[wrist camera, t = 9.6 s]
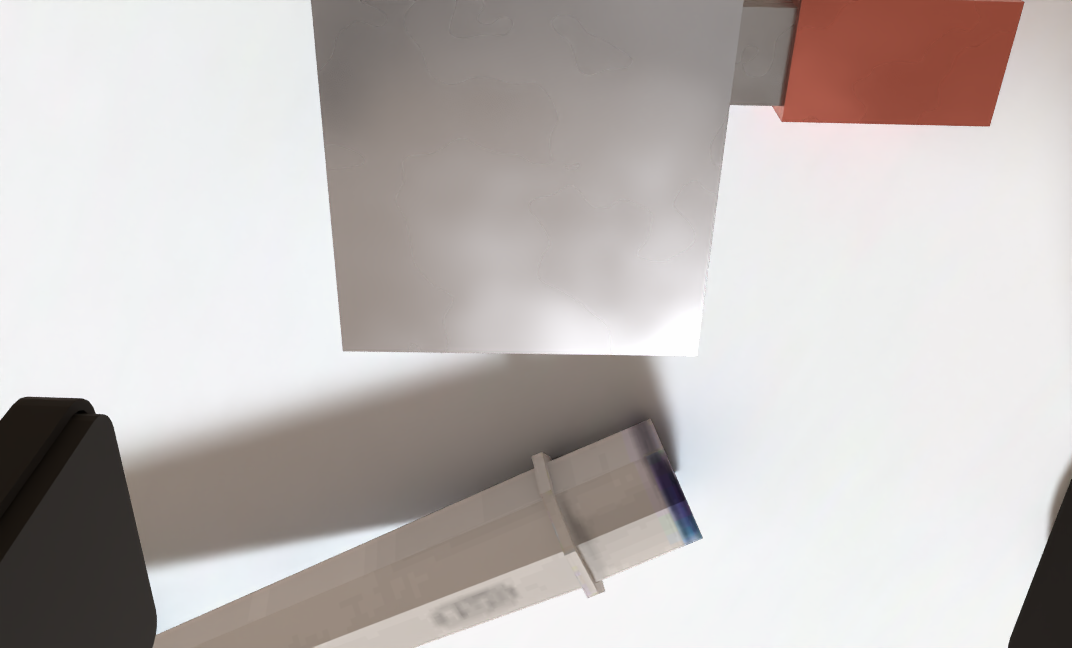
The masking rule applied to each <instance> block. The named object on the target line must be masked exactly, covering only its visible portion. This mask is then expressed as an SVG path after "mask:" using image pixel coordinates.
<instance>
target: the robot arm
mask: <svg viewBox="0 0 1072 648" xmlns="http://www.w3.org/2000/svg"><path fill="white" fill-rule="evenodd" d="M156 628H157V615H156V609H155V605H154V600H153V596H152V592H151V587H150V583H149V579H148V574H147V570H146V566H145V561H144V557H143V553H142V548H141V544H140V540H139V535H138V531H137V527H136V522H135V518H134V514H133V509H132V505H131V501H130V496H129V492H128V488H127V483H126V479H125V475H124V470H123V466H122V462H121V457H120V453H119V449H118V444H117V440H116V436H115V431H114V427H113V424H112V422H111V420H110V418H109V417H108V416H106V415H104V414H96V413H95V411H94V408H93V406H92V405H91V404H90V402H89V401H87V400H85V399H81V398H50V397H24V398H20V399H19V400H18V401H17V402H16V403H14V404H13V405H12V407H11V408H10V409H9V410H8V412H7V413H6V414H5V415H4V417H3V418H2V419H1V420H0V648H153V645H154V641H155V636H156ZM1008 648H1072V479H1071V482H1070V484H1069V487H1068V489H1067V492H1066V495H1065V497H1064V500H1063V502H1062V505H1061V507H1060V510H1059V513H1058V515H1057V518H1056V520H1055V523H1054V526H1053V528H1052V531H1051V533H1050V536H1049V539H1048V541H1047V544H1046V546H1045V549H1044V552H1043V554H1042V557H1041V559H1040V562H1039V565H1038V567H1037V570H1036V572H1035V575H1034V578H1033V580H1032V583H1031V585H1030V588H1029V590H1028V593H1027V596H1026V598H1025V601H1024V603H1023V606H1022V609H1021V611H1020V614H1019V616H1018V619H1017V622H1016V624H1015V627H1014V629H1013V632H1012V635H1011V637H1010V641H1009V645H1008Z"/></svg>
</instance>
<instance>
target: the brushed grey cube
mask: <svg viewBox="0 0 1072 648" xmlns="http://www.w3.org/2000/svg"><path fill="white" fill-rule="evenodd" d="M743 1H744V0H311V6H312V17H313V28H314V39H315V49H316V60H317V71H318V82H319V93H320V104H321V115H322V126H323V137H324V148H325V159H326V170H327V181H328V192H329V203H330V214H331V225H332V236H333V247H334V258H335V269H336V280H337V291H338V302H339V313H340V324H341V335H342V346H343V351H368V352H440V353H511V354H583V355H654V356H697V350H698V342H699V335H700V327H701V320H702V312H703V304H704V297H705V289H706V282H707V274H708V267H709V259H710V251H711V244H712V236H713V229H714V221H715V213H716V206H717V198H718V191H719V183H720V175H721V168H722V160H723V153H724V145H725V138H726V130H727V122H728V115H729V107H730V100H731V92H732V84H733V77H734V69H735V62H736V54H737V47H738V39H739V31H740V24H741V16H742V9H743Z"/></svg>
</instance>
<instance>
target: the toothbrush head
mask: <svg viewBox="0 0 1072 648" xmlns="http://www.w3.org/2000/svg"><path fill="white" fill-rule="evenodd" d="M532 461H533V465H534V468H533V469H531V470H529V471H526V472H524V473H522V474H520V475H517V476H515V477H513V478H511V479H508V480H506V481H504V482H502V483H499V484H497V485H495V486H492V487H490V488H488V489H486V490H483V491H481V492H479V493H477V494H474V495H472V496H470V497H468V498H465V499H463V500H461V501H459V502H456V503H454V504H452V505H449V506H447V507H445V508H443V509H440V510H438V511H436V512H434V513H431V514H429V515H427V516H425V517H422V518H420V519H418V520H416V521H413V522H411V523H409V524H406V525H404V526H402V527H400V528H397V529H395V530H393V531H391V532H388V533H386V534H384V535H382V536H379V537H377V538H375V539H372V540H370V541H368V542H366V543H363V544H361V545H359V546H357V547H354V548H352V549H350V550H348V551H345V552H343V553H341V554H339V555H336V556H334V557H332V558H329V559H327V560H325V561H323V562H320V563H318V564H316V565H314V566H311V567H309V568H307V569H305V570H302V571H300V572H298V573H296V574H293V575H291V576H289V577H286V578H284V579H282V580H280V581H277V582H275V583H273V584H271V585H268V586H266V587H264V588H262V589H259V590H257V591H255V592H253V593H250V594H248V595H246V596H243V597H241V598H239V599H237V600H234V601H232V602H230V603H228V604H225V605H223V606H221V607H219V608H216V609H214V610H212V611H209V612H207V613H205V614H203V615H200V616H198V617H196V618H194V619H191V620H189V621H187V622H185V623H182V624H180V625H178V626H176V627H173V628H171V629H169V630H166V631H164V632H162V633H160V634H157V635H156V636H155V641H154V645H153V648H415V647H418V646H420V645H423V644H426V643H429V642H432V641H434V640H437V639H440V638H443V637H446V636H448V635H451V634H454V633H457V632H460V631H462V630H465V629H468V628H471V627H474V626H477V625H479V624H482V623H485V622H488V621H491V620H493V619H496V618H499V617H502V616H505V615H507V614H510V613H513V612H516V611H519V610H521V609H524V608H527V607H530V606H533V605H535V604H538V603H541V602H544V601H547V600H549V599H552V598H555V597H558V596H561V595H564V594H566V593H569V592H572V591H575V590H578V589H580V588H583V590H584V592H585V594H586V596H587V598H590V597H592V596H595V595H597V594H600V593H602V592H604V591H605V589H604V585H603V582H602V580H603V579H606V578H608V577H611V576H613V575H615V574H618V573H620V572H623V571H625V570H628V569H630V568H632V567H635V566H637V565H640V564H642V563H644V562H647V561H649V560H652V559H654V558H656V557H659V556H661V555H664V554H666V553H668V552H671V551H673V550H676V549H678V548H680V547H683V546H685V545H688V544H690V543H693V542H695V541H697V540H700V539H702V538H703V537H702V535H701V533H700V530H699V528H698V526H697V523H696V521H695V519H694V517H693V514H692V512H691V510H690V507H689V505H688V503H687V500H686V498H685V496H684V493H683V491H682V489H681V487H680V484H679V482H678V480H677V477H676V475H675V473H674V471H673V468H672V466H671V464H670V461H669V459H668V457H667V455H666V452H665V450H664V448H663V446H662V443H661V441H660V439H659V436H658V434H657V432H656V430H655V427H654V425H653V423H652V421H651V419H648V420H646V421H643V422H641V423H639V424H636V425H634V426H632V427H629V428H627V429H625V430H622V431H620V432H618V433H615V434H613V435H611V436H608V437H606V438H604V439H601V440H599V441H596V442H594V443H592V444H589V445H587V446H585V447H582V448H580V449H578V450H575V451H573V452H571V453H568V454H566V455H564V456H561V457H559V458H557V459H554V460H552V459H551V457H550V456H548V455H546V454H545V453H543V452H540V453H538V454H536V455H533V456H532Z"/></svg>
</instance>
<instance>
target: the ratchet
mask: <svg viewBox="0 0 1072 648" xmlns="http://www.w3.org/2000/svg"><path fill="white" fill-rule="evenodd" d="M1023 5H1024V1H1022V0H744V1H743V9H742V16H741V24H740V31H739V39H738V47H737V54H736V62H735V69H734V77H733V84H732V92H731V100H730V105H759V106H772V107H773V108H774V110H775V112H776V113H777V115H778V117H779V118H780V120H781V121H782V122H816V123H860V124H904V125H948V126H990V123H991V120H992V116H993V113H994V109H995V106H996V102H997V98H998V95H999V91H1000V88H1001V84H1002V81H1003V77H1004V73H1005V70H1006V66H1007V63H1008V59H1009V55H1010V52H1011V48H1012V45H1013V41H1014V38H1015V34H1016V30H1017V27H1018V23H1019V20H1020V16H1021V13H1022V9H1023Z"/></svg>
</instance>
